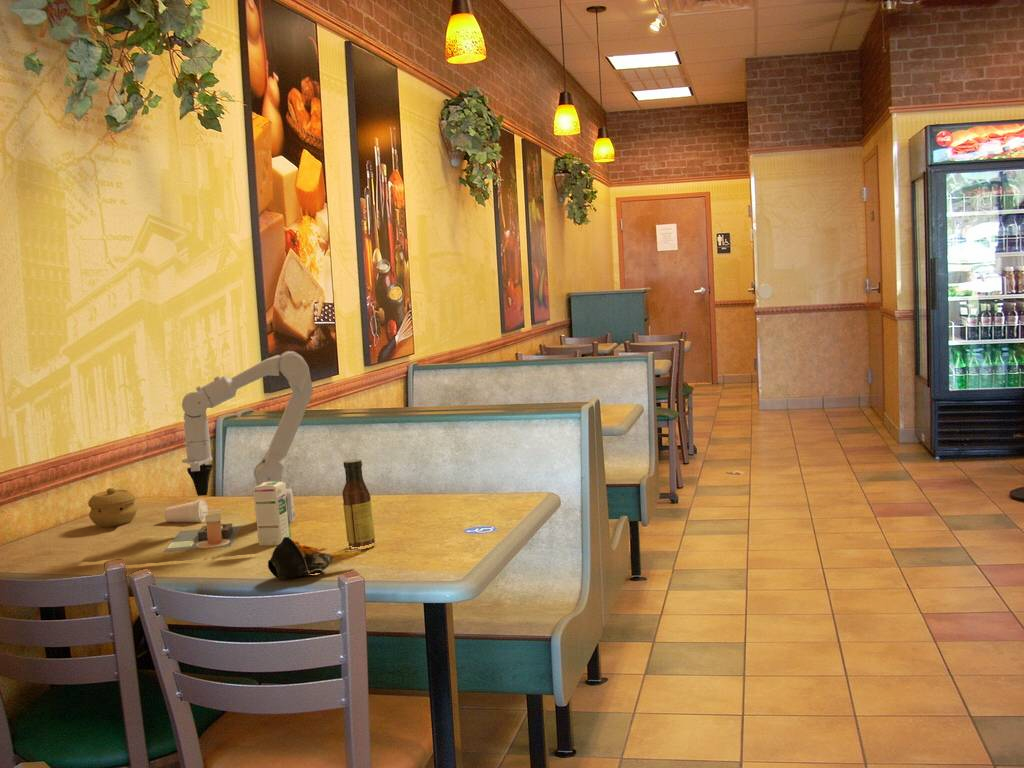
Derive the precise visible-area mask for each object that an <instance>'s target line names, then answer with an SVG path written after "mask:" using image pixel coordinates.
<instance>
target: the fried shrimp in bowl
mask: <svg viewBox="0 0 1024 768" xmlns="http://www.w3.org/2000/svg"><path fill="white" fill-rule="evenodd" d="M327 549H328V548H326V547H323V548H317V547H313V546H309V545H306V544H304V545H302V544H301V542H300V541H299V540H292V538H291V539H290V538H288V537H284V538H283V541H282V542H281V543H280V544H279V545H276V547H274V550H273V552H272V555H271V557H270V559H269V560H267V567H268V570H269V571H270V572H271V574H272V575H273V576H274V577H275V578H276V579H279V578H286V579H293V578H294V577H295V578H298V577H301V576H303V575H305V576H309V575H310V574H315V573H321V574H323V572H324V570H326V568H328V566H329V565H330V564H331V562H332V561H334V560H344V559H345V560H346V559H348V558H354V557H357V556H360V555H361V554H362V550H361V549H358V548H354V549H350V548H349V549H345V550H340V551H335V552H334V551H333V552H330V553H326V552H322V551H326V550H327Z"/></svg>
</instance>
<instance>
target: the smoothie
mask: <svg viewBox="0 0 1024 768" xmlns="http://www.w3.org/2000/svg"><path fill="white" fill-rule="evenodd" d="M214 513H220V509H215V510H214V509H213V510H209V507H208V503H207V501H206V500H205V499H204V498H202V499H197V500H195V501H190V502H187V503H182V504H178V505H174V506H168V507H166V508H165V509H164V519H165V521H166V523H203V522H205V516H206V515H209V514H214Z"/></svg>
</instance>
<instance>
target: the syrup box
mask: <svg viewBox="0 0 1024 768" xmlns="http://www.w3.org/2000/svg"><path fill="white" fill-rule="evenodd" d="M286 489H287V484H286V481H273V482H263V483H262V484H261V485H258V486H257V485H256V486H254V487H253V488H252V492H253V499H254V500H253V501H254V510H255V519H256V521H255V522H256V527H257V528H256V530H257V531H256V532H257V541H258V546H278V545H279V544H280V543H281V542H282V541H283V538H284V537H288V538H290V539H291V540H292V535H291V524H290V523H289V512H288V502H287V493H286Z"/></svg>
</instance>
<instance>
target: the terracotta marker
mask: <svg viewBox="0 0 1024 768" xmlns="http://www.w3.org/2000/svg"><path fill="white" fill-rule="evenodd" d="M221 521H222V516H221V514H220V513H209V514H208V515H206V516H205V521H204V522H205V526H207V537H208V544H210V545H215V544H220V543H222V533H221V524H222V523H221Z"/></svg>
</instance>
